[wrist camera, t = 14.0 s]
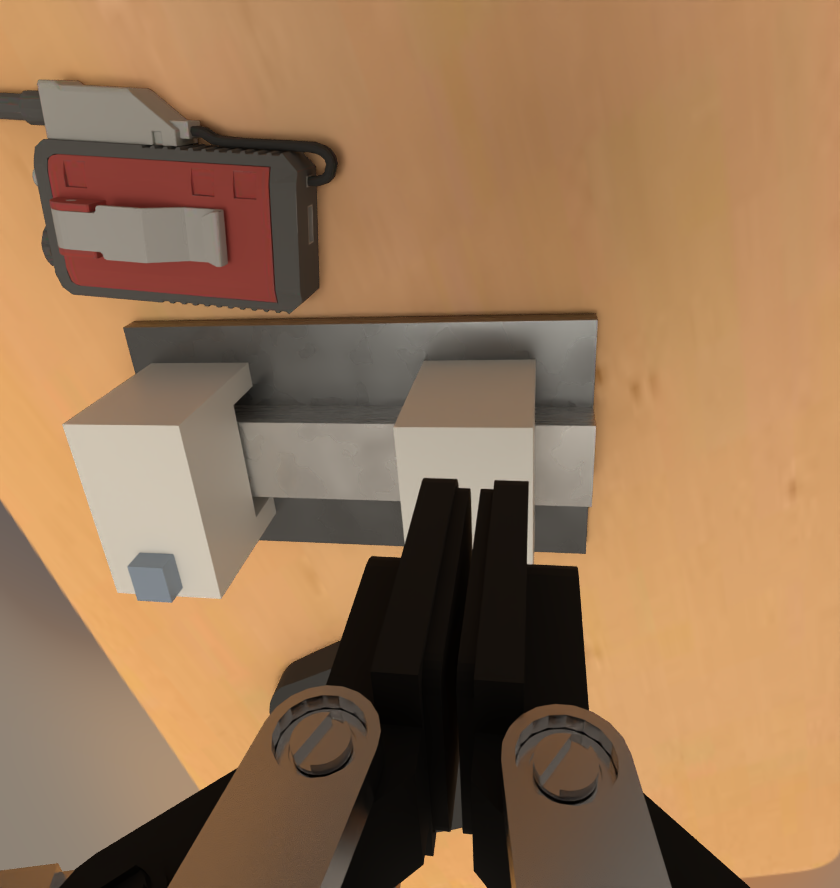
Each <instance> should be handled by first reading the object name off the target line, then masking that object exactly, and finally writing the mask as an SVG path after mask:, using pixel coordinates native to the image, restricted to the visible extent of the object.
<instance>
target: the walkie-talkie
mask: <svg viewBox="0 0 840 888" xmlns="http://www.w3.org/2000/svg"><path fill="white" fill-rule="evenodd" d="M37 85H38V90H39V91H30V90H27V91H23V92H22V93H21V94H15V93H0V119H12V120H26V121H27V122H28V123H29V124H31V125H45V127H46V133H47V138H48V139H43V140H42V141H41V142H40V143H39V144H38V145H36V146H35V153H34V170H33V180H34V182H35V184H36V185H37V186H38V189H39V194H40V199H41V204H42V209H43V214H44V218H45V223H46V227H45V229H44V231H43V236H42V242H41V243H42V250H43V252H44V255H45V257H46V259H47V261H48V262H49V263H50V264H51V265H52V266H54V268H55V273H56V275H57V277H58V279H59V281H60V283H61V285H62V286H63V288H65V289H66V290H68V291H69V292H70V293H72V294H73V295H84V296H96V297H107V298H118V299H129V300H141V301H152V302H164V301H169V302H170V303H176V302H181V303H182V304H187V303H193V305H199V304H204V305H205V306H210V305H216V306H217V307H222V306H228V308H234V307H239V308H240V309H243V310H244V309H246V308H251V309H252V310H254V311H256V310H257V309H263V310H264V311H265V312H268V311H269V310H274V311H276V313H280V312H281V311H285V312H288V314H290V313H291V312H292V311H293V310H295V309H296V308H297V307H298V306H299V305H300V304H302V303H303V302H304V301H305V300H306V299H307V298H309V297H310V296H311V295H312V294H313V293H314V292H315V291H316V290H317V289H319V256H318V220H317V186H320V185H323V184H326V183H329V182H330V181H331V180H332V179H333V178H334V177H335V174H336V169H337V165H338V162H337V158H336V155H335V154H334V153H333V151H332V150H331V149H330V148H329V147H327V146H325V145H322V144H320V143H317V142H308V141H290V140H271V139H253V138H239V137H228V136H221V135H218V134H216V133H215V132H213V131H212V130H210V129H208V128H206V127H202V126H200V121H196V120H186V119H185V118H184V117H183V116H182V115H180V114H179V113H178V112H177V111H176V110H175V109H173V108H172V107H171V106H170V105H169V104H168V103H166V102H165V101H164V100H163V99H162V98H160V97H159V96H158V95H157V94H156V93H155V92H153V91H151V90H150V89H146V88H128V87H111V86H93V85H83V84H82V83H81V82H79V81H70V80H38V83H37ZM200 137H201V138H203V139H204V140H206V141H207V142H209V143H211V144H213V145H206V146H205V144H197V143H198V138H200ZM193 144H196V145H193ZM303 152H310V153H315V154H318V155H320V156H321V157H323V158H324V159H325V162H326V168H325V172H324V173H323V174H322V175H318V176H316V166H315V165H314V164H313V163H312V162H311V160H310V159H309V158H308V157H307V156H306V155H305V154H304V153H303Z"/></svg>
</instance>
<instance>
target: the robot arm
mask: <svg viewBox="0 0 840 888" xmlns="http://www.w3.org/2000/svg"><path fill="white" fill-rule="evenodd" d="M528 497H529V481H509V480H495V481H494V488H493V489H481V490H480V497H479V504H478V512H477V519H476V527H475V534H474V542H473V549H472V512H471V489H470V488H459V485H458V480H457V479H446V478H423V480H422V482H421V486H420V490H419V493H418V497H417V501H416V504H415V508H414V512H413V515H412V519H411V523H410V526H409V530H408V534H407V538H406V541H405V545H404V549H403V552H402V556H401V558H397V557H377V556H372V557H370V558H369V560H368V562H367V564H366V567H365V570H364V573H363V576H362V579H361V582H360V585H359V588H358V591H357V594H356V597H355V600H354V603H353V606H352V609H351V612H350V615H349V618H348V621H347V624H346V627H345V630H344V633H343V636H342V639H341V642H340V645H339V648H338V651H337V653H336V656H335V659H334V662H333V665H332V668H331V671H330V674H329V677H328V680H327V683H326V685H325V686H319V687H313V688H308V689H306V690H303V691H301V692H299V693H297V694H294V695H292V696H290V697H289V698H288V699H286V700H285V701H284V702H282V703H281V704H280V705H278V706H277V707H276V708H275V709H274V711H273V712H272V713H271V714H270V716H269V717H268V718H267V719H266V721H265V722H264V724H263V726H262V727H261V729H260V731H259V733H258V734H257V736H256V738H255V739H254V741H253V743H252V744H251V746H250V748H249V750H248V751H247V753H246V755H245V756H244V758H243V760H242V761H241V763H240V765H239V767H238V768H237V769H235V770H233V771H232V772H230V773H228V774H227V775H225V776H223V777H222V778H220V779H218V780H217V781H215V782H214V783H212V784H210V785H209V786H207V787H205V788H204V789H202V790H200V791H199V792H197V793H195V794H194V795H192V796H191V797H189V798H187V799H185V800H184V801H182V802H180V803H179V804H177V805H176V806H174V807H172V808H171V809H169V810H167V811H166V812H164V813H163V814H161V815H159V816H157V817H156V818H154V819H152V820H151V821H149V822H147V823H146V824H144V825H142V826H141V827H139V828H138V829H136V830H134V831H133V832H131V833H129V834H128V835H126V836H125V837H123V838H121V839H120V840H118V841H116V842H114V843H113V844H111V845H109V846H108V847H106V848H105V849H103V850H101V851H100V852H98V853H96V854H95V855H94V856H92V857H91V858H90V859H88V860H87V861H86V862H84V863H83V864H82V865H80V866H79V867H78V868H76V869H75V870H71V871H64V872H62V870H61V868H60V866H59V864H58V863H56V864H49V865H40V866H33V867H25V868H17V869H9V870H1V871H0V888H400V883H401V882H402V881H403V880H405V879H406V878H407V877H408V876H410V875H411V874H412V873H413V872H415V871H416V870H417V869H418V868H420V867H421V866H422V865H423V864H424V857H425V855H427V856H433V855H434V847H435V840H436V832H437V830H438V831H447V832H450V831H451V827H452V820H453V811H454V803H455V794H456V785H457V776H458V767H459V764H460V786H461V807H462V829H463V833H464V834H473V862H474V872H475V873H476V874H477V875H478V877H479V878H480V879H481V880H482V882H483V883H484V884H485V885H486V887H487V888H750V887H749V886H748V885H747V884H746V883H745V882H744V881H742V880H741V879H740V878H739V877H738V876H737V875H736V874H734V873H733V872H732V871H731V870H730V869H729V868H728V867H727V866H725V865H724V864H723V863H722V862H721V861H720V860H719V859H717V858H716V857H715V856H714V855H713V854H712V853H711V852H710V851H708V850H707V849H706V848H705V847H704V846H703V845H702V844H701V843H699V842H698V841H697V840H696V839H695V838H694V837H693V836H691V835H690V834H689V833H688V832H687V831H686V830H685V829H684V828H682V827H681V826H680V825H679V824H678V823H677V822H676V821H675V820H673V819H672V818H671V817H670V816H669V815H668V814H667V813H665V812H664V811H663V810H662V809H661V808H660V807H659V806H658V805H656V804H655V803H654V802H653V801H652V800H651V799H650V798H648V797H647V796H646V795H645V794H644V793H643V791H642V788H641V785H640V781H639V778H638V775H637V771H636V768H635V765H634V761H633V758H632V755H631V753H630V751H629V749H628V747H627V744H626V742H625V740H624V738H623V737H622V736H621V735H620V734H619V732H618V731H617V730H616V729H615V728H614V727H613V726H612V725H611V724H610V723H609V722H608V721H606V720H604V719H603V718H601V717H600V716H598V715H597V714H595V713H594V712H591V711H589V705H588V692H587V679H586V665H585V652H584V639H583V626H582V612H581V599H580V586H579V574H578V568H577V567H574V566H555V565H535V564H527V539H528Z"/></svg>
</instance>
